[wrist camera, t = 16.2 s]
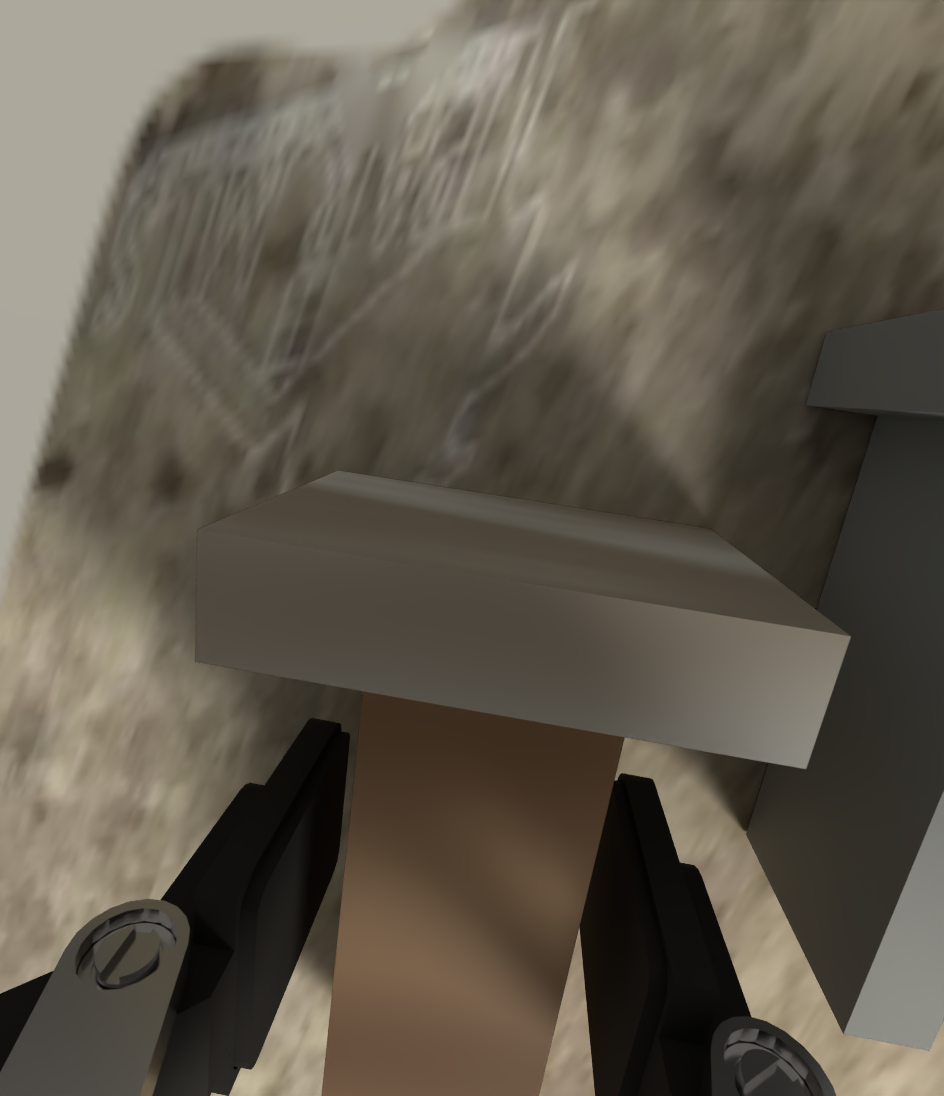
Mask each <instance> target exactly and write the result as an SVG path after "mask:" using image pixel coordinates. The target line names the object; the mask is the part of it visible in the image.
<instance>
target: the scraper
mask: <svg viewBox="0 0 944 1096" xmlns="http://www.w3.org/2000/svg"><path fill="white" fill-rule="evenodd" d="M850 638H851V636H850V635H849V634H847V633H846V632H845V631H843V630H842V629H841V628H839V627H838V626H837V625H835V624H834V623H833V622H832V621H830V620H829V619H828V618H826V617H825V616H824V615H822V614H821V613H820V612H818V611H817V610H816V609H815V608H813V607H812V606H811V605H809V604H808V603H807V602H805V601H804V600H803V599H801V598H800V597H799V596H798V595H796V594H795V593H794V592H792V591H791V590H790V589H788V588H787V587H786V586H784V585H783V584H782V583H780V582H779V581H778V580H777V579H775V578H774V577H773V576H771V575H770V574H769V573H767V572H766V571H765V570H763V569H762V568H761V567H760V566H758V565H757V564H756V563H754V562H753V561H752V560H750V559H749V558H748V557H746V556H745V555H744V554H743V553H741V552H740V551H739V550H737V549H736V548H735V547H733V546H732V545H731V544H729V543H728V542H727V541H726V540H724V539H723V538H722V537H720V536H719V535H718V534H716V533H715V532H714V531H712V530H711V529H709V528H703V527H696V526H690V525H683V524H677V523H671V522H664V521H658V520H651V519H645V518H639V517H632V516H626V515H619V514H613V513H607V512H600V511H594V510H587V509H581V508H575V507H568V506H562V505H556V504H549V503H543V502H536V501H530V500H524V499H517V498H511V497H504V496H498V495H492V494H485V493H479V492H472V491H466V490H460V489H453V488H447V487H440V486H434V485H428V484H421V483H415V482H408V481H402V480H396V479H389V478H383V477H376V476H370V475H364V474H357V473H351V472H344V471H336V472H333V473H331V474H329V475H326V476H324V477H321V478H319V479H317V480H314V481H312V482H310V483H307V484H305V485H302V486H300V487H298V488H295V489H293V490H290V491H288V492H286V493H283V494H281V495H278V496H276V497H274V498H271V499H269V500H266V501H264V502H262V503H259V504H257V505H255V506H252V507H250V508H247V509H245V510H243V511H240V512H238V513H235V514H233V515H231V516H228V517H226V518H223V519H221V520H219V521H216V522H214V523H211V524H209V525H207V526H204V527H202V528H200V529H197V579H196V637H195V662H199V663H205V664H211V665H217V666H222V667H228V668H234V669H239V670H245V671H251V672H256V673H262V674H268V675H273V676H279V677H285V678H290V679H296V680H302V681H307V682H313V683H319V684H325V685H330V686H336V687H342V688H347V689H353V690H359V691H363V695H362V705H361V714H360V724H359V734H358V744H357V754H356V763H355V773H354V783H353V793H352V803H351V813H350V822H349V832H348V842H347V852H346V862H345V871H344V881H343V891H342V901H341V911H340V920H339V930H338V940H337V950H336V960H335V969H334V979H333V989H332V999H331V1009H330V1018H329V1028H328V1038H327V1048H326V1058H325V1067H324V1077H323V1087H322V1096H539V1093H540V1089H541V1085H542V1081H543V1077H544V1072H545V1068H546V1064H547V1060H548V1056H549V1051H550V1047H551V1043H552V1039H553V1035H554V1030H555V1026H556V1022H557V1018H558V1014H559V1010H560V1005H561V1001H562V997H563V993H564V989H565V984H566V980H567V976H568V972H569V968H570V964H571V959H572V955H573V951H574V947H575V943H576V938H577V934H578V930H579V926H580V922H581V918H582V913H583V909H584V905H585V901H586V897H587V892H588V888H589V884H590V880H591V876H592V871H593V867H594V863H595V859H596V855H597V851H598V846H599V842H600V838H601V834H602V830H603V825H604V821H605V817H606V813H607V809H608V805H609V800H610V796H611V792H612V788H613V784H614V779H615V775H616V771H617V767H618V763H619V759H620V754H621V750H622V746H623V742H624V738H625V737H626V738H632V739H637V740H643V741H649V742H654V743H660V744H666V745H671V746H677V747H683V748H688V749H694V750H700V751H705V752H711V753H717V754H723V755H728V756H734V757H740V758H745V759H751V760H757V761H762V762H768V763H774V764H779V765H785V766H791V767H796V768H802V769H806V768H807V765H808V762H809V759H810V756H811V753H812V750H813V747H814V744H815V741H816V738H817V735H818V732H819V730H820V727H821V724H822V721H823V718H824V715H825V712H826V709H827V706H828V703H829V700H830V697H831V694H832V691H833V688H834V685H835V682H836V679H837V676H838V673H839V670H840V667H841V664H842V661H843V658H844V656H845V653H846V650H847V647H848V644H849V641H850Z"/></svg>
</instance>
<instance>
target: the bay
mask: <svg viewBox="0 0 944 1096" xmlns="http://www.w3.org/2000/svg"><path fill="white" fill-rule="evenodd" d="M806 406H813V407H820V408H827V409H834V410H841V411H848V412H855V413H862V414H869V415H876V416H877V419H876V422H875V426H874V429H873V432H872V435H871V438H870V441H869V445H868V448H867V451H866V454H865V457H864V461H863V464H862V467H861V470H860V473H859V476H858V480H857V483H856V486H855V489H854V492H853V495H852V499H851V502H850V505H849V508H848V511H847V515H846V518H845V521H844V524H843V527H842V530H841V534H840V537H839V540H838V543H837V546H836V550H835V553H834V556H833V559H832V562H831V565H830V569H829V572H828V575H827V578H826V581H825V585H824V588H823V591H822V594H821V597H820V600H819V604H818V607H817V611H818V612H820V613H821V614H822V615H824V616H825V617H826V618H828V619H829V620H830V621H832V622H833V623H834V624H835V625H837V626H838V627H839V628H841V629H842V630H843V631H845V632H846V633H847V634H849V635H850V636H851V638H850V641H849V644H848V647H847V650H846V653H845V656H844V658H843V661H842V664H841V667H840V670H839V673H838V676H837V679H836V682H835V685H834V688H833V691H832V694H831V697H830V700H829V703H828V706H827V709H826V712H825V715H824V718H823V721H822V724H821V727H820V730H819V732H818V735H817V738H816V741H815V744H814V747H813V750H812V753H811V756H810V759H809V762H808V765H807V768H806V769H802V768H796V767H791V766H785V765H779V764H774V763H768V766H767V769H766V772H765V775H764V778H763V782H762V785H761V788H760V791H759V794H758V798H757V801H756V804H755V807H754V810H753V813H752V817H751V820H750V823H749V826H748V829H747V833H746V835H747V837H748V839H749V841H750V843H751V845H752V847H753V850H754V852H755V854H756V856H757V858H758V860H759V862H760V864H761V866H762V868H763V870H764V872H765V874H766V876H767V878H768V880H769V882H770V884H771V886H772V888H773V891H774V893H775V895H776V897H777V899H778V901H779V903H780V905H781V907H782V909H783V911H784V913H785V915H786V917H787V919H788V921H789V923H790V925H791V927H792V930H793V932H794V934H795V936H796V938H797V940H798V942H799V944H800V946H801V948H802V950H803V952H804V954H805V956H806V958H807V960H808V962H809V964H810V966H811V968H812V971H813V973H814V975H815V977H816V979H817V981H818V983H819V985H820V987H821V989H822V991H823V993H824V995H825V997H826V999H827V1001H828V1003H829V1005H830V1007H831V1010H832V1012H833V1014H834V1016H835V1018H836V1020H837V1022H838V1024H839V1026H840V1028H841V1030H842V1032H843V1034H846V1035H851V1036H856V1037H861V1038H866V1039H871V1040H876V1041H881V1042H886V1043H891V1044H896V1045H901V1046H906V1047H911V1048H916V1049H922V1050H927V1051H930V1049H931V1047H932V1044H933V1042H934V1040H935V1038H936V1036H937V1034H938V1032H939V1030H940V1027H941V1025H942V1023H943V1021H944V308H943V309H938V310H933V311H928V312H923V313H918V314H913V315H908V316H903V317H898V318H893V319H888V320H883V321H878V322H873V323H868V324H863V325H858V326H853V327H848V328H843V329H838V330H833V331H828V332H826V335H825V339H824V343H823V346H822V350H821V353H820V357H819V360H818V364H817V367H816V371H815V375H814V378H813V382H812V385H811V389H810V392H809V396H808V399H807V403H806Z"/></svg>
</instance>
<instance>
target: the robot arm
mask: <svg viewBox="0 0 944 1096" xmlns="http://www.w3.org/2000/svg"><path fill="white" fill-rule="evenodd" d="M349 742H350V734H349V733H347V732H341V724H340V723H337V722H331V721H325V720H320V719H314V718H311V719H309V720H308V722H307V723H306V725H305V726H304V728H303V729H302V731H301V732H300V734H299V735H298V736H297V738H296V739H295V741H294V742H293V744H292V745H291V747H290V748H289V750H288V751H287V753H286V754H285V756H284V757H283V759H282V760H281V762H280V763H279V765H278V766H277V768H276V769H275V771H274V772H273V774H272V775H271V777H270V778H269V780H268V781H267V783H266V784H265V786H264V785H259V784H253V783H248V784H246V785H245V786H244V787H243V788H242V789H241V790H240V791H239V793H238V794H237V795H236V797H235V798H234V799H233V801H232V802H231V804H230V805H229V806H228V808H227V809H226V811H225V812H224V813H223V815H222V816H221V817H220V819H219V820H218V822H217V823H216V824H215V826H214V827H213V828H212V830H211V831H210V833H209V834H208V835H207V837H206V838H205V839H204V841H203V842H202V844H201V845H200V846H199V848H198V849H197V850H196V852H195V853H194V855H193V856H192V857H191V859H190V860H189V861H188V863H187V864H186V866H185V867H184V868H183V870H182V871H181V873H180V874H179V875H178V877H177V878H176V879H175V881H174V882H173V884H172V885H171V886H170V888H169V889H168V890H167V892H166V893H165V895H164V896H163V897H162V899H161V900H154V899H143V900H136V901H129V902H126V903H124V904H121V905H118V906H115V907H112V908H110V909H108V910H107V911H105V912H103V913H101V914H100V915H98V916H96V917H95V918H93V919H92V920H91V921H89V922H88V923H87V924H86V925H85V926H84V927H83V928H82V929H80V930H79V931H78V932H77V933H76V935H75V936H74V937H73V939H72V940H71V942H70V943H69V944H68V946H67V947H66V949H65V950H64V952H63V954H62V956H61V958H60V960H59V962H58V964H57V966H56V968H55V969H54V971H52V972H50V973H47V974H45V975H43V976H40V977H38V978H36V979H33V980H31V981H29V982H26V983H24V984H22V985H19V986H17V987H15V988H13V989H10V990H8V991H6V992H3V993H1V994H0V1096H210V1095H211V1092H212V1093H217V1094H222V1095H226V1096H229V1094H230V1092H231V1089H232V1087H233V1085H234V1082H235V1080H236V1078H237V1075H238V1073H239V1071H240V1068H245V1069H250V1070H251V1069H252V1068H253V1067H254V1065H255V1063H256V1061H257V1059H258V1057H259V1054H260V1052H261V1049H262V1047H263V1044H264V1042H265V1040H266V1037H267V1035H268V1032H269V1030H270V1027H271V1025H272V1022H273V1020H274V1017H275V1015H276V1013H277V1010H278V1008H279V1005H280V1003H281V1000H282V998H283V995H284V993H285V991H286V988H287V986H288V983H289V981H290V978H291V976H292V973H293V971H294V968H295V966H296V964H297V961H298V959H299V956H300V954H301V951H302V949H303V946H304V944H305V941H306V939H307V937H308V934H309V932H310V929H311V927H312V924H313V922H314V919H315V917H316V914H317V912H318V910H319V907H320V905H321V902H322V900H323V897H324V895H325V892H326V890H327V888H328V885H329V883H330V880H331V878H332V875H333V873H334V870H335V867H336V863H337V859H338V854H339V847H340V836H341V826H342V815H343V805H344V794H345V784H346V774H347V763H348V753H349ZM580 937H581V947H582V958H583V969H584V980H585V991H586V1001H587V1012H588V1023H589V1034H590V1045H591V1055H592V1066H593V1077H594V1088H595V1096H836V1094H835V1091H834V1088H833V1086H832V1084H831V1082H830V1081H829V1079H828V1078H827V1076H826V1074H825V1073H824V1071H823V1069H822V1068H821V1066H820V1065H819V1064H818V1062H817V1061H816V1060H815V1059H814V1058H813V1057H812V1056H811V1054H810V1053H809V1052H808V1051H807V1050H806V1049H805V1048H804V1047H803V1046H802V1045H801V1044H800V1043H799V1042H797V1041H796V1040H795V1039H794V1038H792V1037H791V1036H790V1035H789V1034H787V1033H786V1032H785V1031H783V1030H781V1029H779V1028H778V1027H776V1026H774V1025H772V1024H770V1023H768V1022H767V1021H763V1020H760V1019H756V1018H753V1017H751V1015H750V1012H749V1009H748V1006H747V1003H746V1000H745V998H744V995H743V992H742V989H741V986H740V983H739V981H738V978H737V975H736V972H735V969H734V966H733V964H732V961H731V958H730V955H729V952H728V949H727V947H726V944H725V941H724V938H723V935H722V932H721V930H720V927H719V924H718V921H717V918H716V916H715V913H714V910H713V907H712V904H711V901H710V899H709V896H708V893H707V890H706V887H705V884H704V882H703V879H702V876H701V874H700V872H699V870H698V868H696V867H695V866H694V865H690V864H685V863H680V862H679V859H678V856H677V852H676V849H675V846H674V843H673V840H672V837H671V834H670V830H669V827H668V824H667V821H666V818H665V815H664V811H663V808H662V805H661V802H660V799H659V796H658V793H657V789H656V786H655V783H654V781H653V780H652V779H651V778H645V777H640V776H634V775H628V774H623V773H621V774H620V775H619V777H618V780H617V781H615V780H614V784H613V788H612V792H611V796H610V800H609V805H608V809H607V813H606V817H605V821H604V825H603V830H602V834H601V838H600V842H599V846H598V851H597V855H596V859H595V863H594V867H593V871H592V876H591V880H590V884H589V888H588V892H587V897H586V901H585V905H584V909H583V913H582V918H581V922H580Z"/></svg>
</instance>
